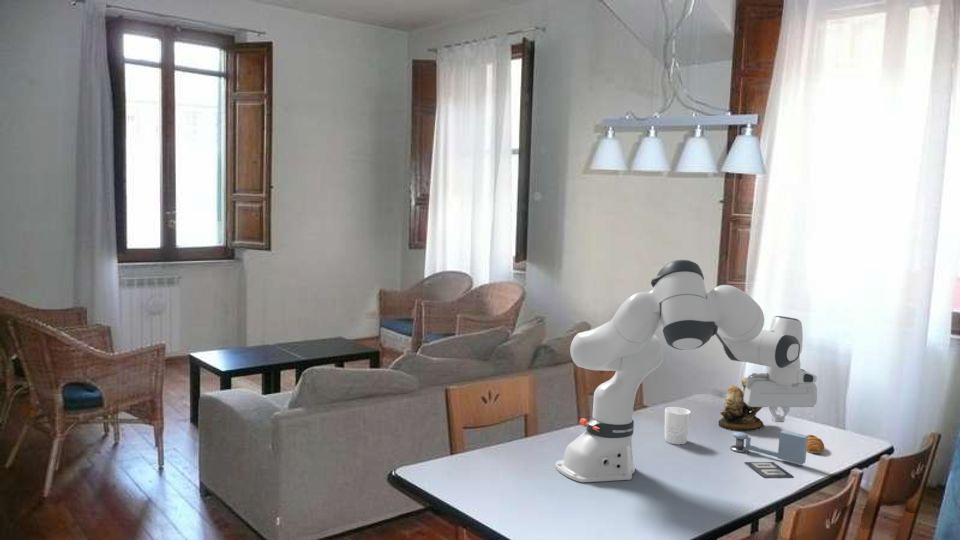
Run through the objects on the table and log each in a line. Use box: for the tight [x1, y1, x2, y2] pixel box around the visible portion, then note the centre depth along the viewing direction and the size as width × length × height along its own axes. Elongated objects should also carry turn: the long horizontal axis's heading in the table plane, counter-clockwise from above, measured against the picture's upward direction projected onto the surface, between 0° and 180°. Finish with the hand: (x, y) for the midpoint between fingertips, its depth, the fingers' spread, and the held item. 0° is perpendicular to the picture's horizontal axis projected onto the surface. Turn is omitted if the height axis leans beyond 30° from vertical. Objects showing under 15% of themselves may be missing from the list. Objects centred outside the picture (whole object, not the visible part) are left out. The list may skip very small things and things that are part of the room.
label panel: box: [743, 461, 794, 479], centre depth 211 cm, size 9×11×1 cm
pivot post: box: [730, 438, 749, 454], centre depth 227 cm, size 5×5×4 cm
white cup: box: [663, 406, 692, 445], centre depth 233 cm, size 8×8×10 cm
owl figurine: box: [718, 376, 764, 432], centre depth 252 cm, size 18×12×17 cm, turn 120°
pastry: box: [806, 434, 825, 454], centre depth 231 cm, size 9×7×4 cm
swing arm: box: [732, 429, 808, 466], centre depth 222 cm, size 21×4×8 cm, turn 50°
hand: (777, 421), depth 207 cm, fingers closed
